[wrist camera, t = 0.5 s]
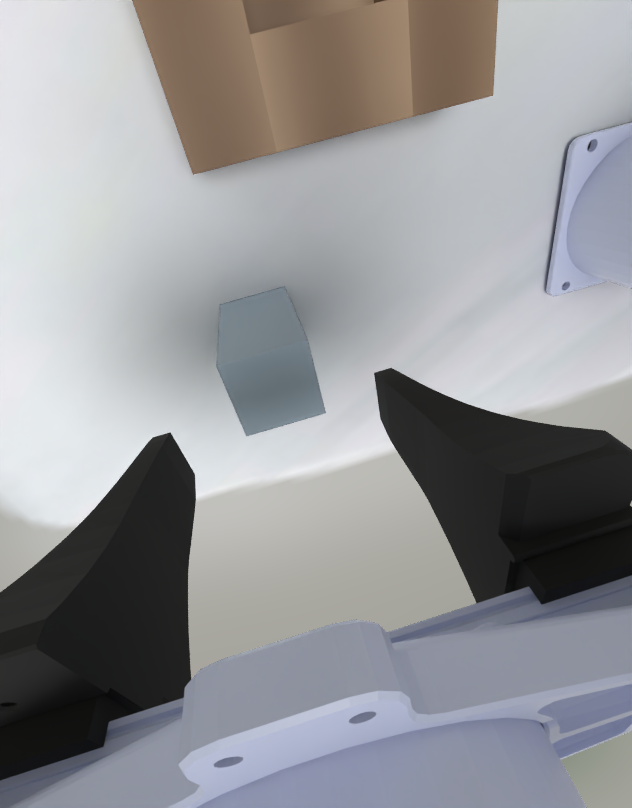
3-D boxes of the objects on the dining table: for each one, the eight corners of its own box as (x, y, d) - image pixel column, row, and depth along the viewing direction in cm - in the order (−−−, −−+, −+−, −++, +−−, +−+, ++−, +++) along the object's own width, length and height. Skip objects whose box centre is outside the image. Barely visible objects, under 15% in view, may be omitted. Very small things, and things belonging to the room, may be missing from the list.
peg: (284, 286, 19) (307, 339, 14) (299, 345, 21) (325, 412, 16) (220, 304, 19) (216, 365, 14) (241, 361, 21) (246, 436, 16)
